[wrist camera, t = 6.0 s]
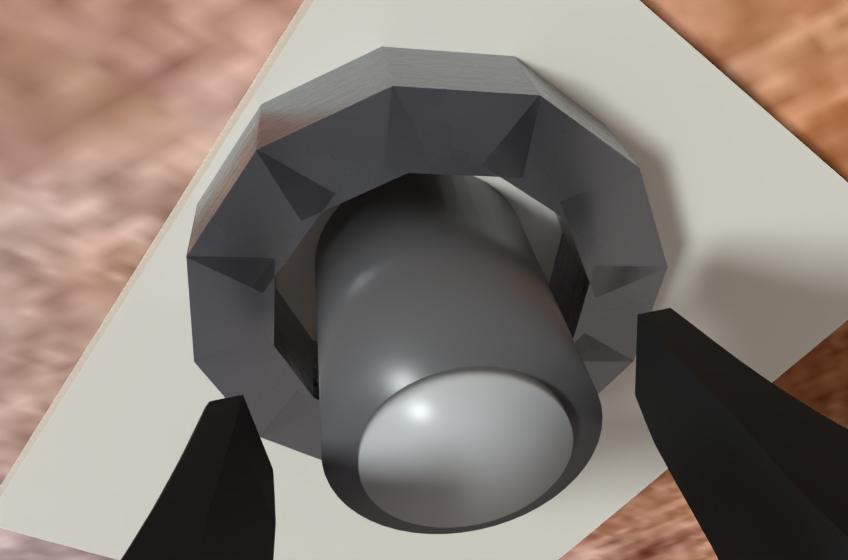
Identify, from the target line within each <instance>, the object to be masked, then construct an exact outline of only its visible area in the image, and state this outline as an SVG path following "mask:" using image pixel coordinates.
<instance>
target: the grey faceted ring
mask: <svg viewBox="0 0 848 560" xmlns="http://www.w3.org/2000/svg"><path fill="white" fill-rule="evenodd" d="M407 173H421V174H444V175H467V176H490V177H501V178H502V179H504V180H506V181H507V182H509V183H510V184H512V185H513V186H515V187H516V188H518V189H520V190H521V191H523V192H524V193H526V194H527V195H529V196H530V197H532V198H534V199H535V200H537V201H538V202H540V203H541V204H543V205H544V206H546V207H547V208H549V209H551V210H552V211H554V212H555V214H556V216H557V219H558V222H559V224H560V227H561V230H562V236H561V239H560V243H559V247H558V251H557V255H556V259H555V263H554V267H553V270H552V274H551V278H550V282H549V287H550V289H551V291H552V293H553V296H554V298H555V300H556V302H557V304H558V307H559V309H560V311H561V313H562V315H563V318H564V320H565V322H566V324H567V327H568V329H569V331H570V333H571V335H572V338H573V340H574V342H575V344H576V346H577V349H578V351H579V353H580V355H581V357H582V360H583V362H584V364H585V366H586V368H587V371H588V373H589V375H590V377H591V379H592V382H593V384H594V386H595V388H596V390H597V393H598V394H599V393H600V392H601V391H602V390H603V389H604V388H605V387H606V386H607V385H609V384H610V383H611V382H612V381H613V380H614V379H615V378H616V377H617V376H618V375H619V374H620V373H621V372H623V371H624V370H625V369H626V368H627V367H628V366H629V365H630V364H631V363H632V362H634V359H635V356H636V344H637V314H642V313H647V312H652V309H653V306H654V304H655V301H656V298H657V295H658V293H659V290H660V287H661V284H662V282H663V279H664V276H665V273H666V271H667V268H668V266H667V263H666V260H665V256H664V253H663V249H662V245H661V242H660V238H659V235H658V231H657V228H656V224H655V221H654V217H653V213H652V210H651V206H650V203H649V199H648V196H647V192H646V189H645V185H644V181H643V178H642V174H641V171H640V167H639V166H638V165H637V164H636V162H635V161H634V160H633V159H632V157H631V156H630V155H629V154H628V152H627V151H626V150H625V149H624V147H623V146H622V145H621V144H620V142H619V141H618V140H617V139H616V137H615V136H614V135H613V134H612V132H611V131H610V130H609V129H608V127H607V126H606V125H605V124H604V123H603V122H601V121H600V120H599V119H597V118H596V117H594V116H593V115H592V114H590V113H589V112H588V111H586V110H585V109H584V108H582V107H581V106H580V105H578V104H577V103H576V102H574V101H573V100H572V99H570V98H569V97H568V96H566V95H565V94H564V93H562V92H561V91H560V90H558V89H557V88H556V87H554V86H553V85H552V84H550V83H549V82H548V81H546V80H545V79H544V78H542V77H541V76H539V75H538V74H537V73H535V72H534V71H533V70H531V69H530V68H529V67H527V66H526V65H525V64H523V63H522V62H521V61H519V60H518V59H517V58H515V57H514V56H505V55H492V54H478V53H464V52H451V51H437V50H423V49H410V48H396V47H383V46H381V47H380V48H377V49H375V50H373V51H371V52H369V53H367V54H365V55H363V56H361V57H359V58H357V59H355V60H352V61H350V62H348V63H346V64H344V65H342V66H340V67H338V68H336V69H334V70H332V71H329V72H327V73H325V74H323V75H321V76H319V77H317V78H315V79H313V80H311V81H309V82H307V83H304V84H302V85H300V86H298V87H296V88H294V89H292V90H290V91H288V92H286V93H284V94H281V95H279V96H277V97H275V98H273V99H271V100H269V101H267V102H265V103H263V104H261V105H260V107H259V108H258V110H257V111H256V113H255V114H254V116H253V118H252V119H251V121H250V122H249V124H248V125H247V127H246V129H245V130H244V132H243V133H242V135H241V136H240V138H239V139H238V141H237V143H236V144H235V146H234V147H233V149H232V150H231V152H230V154H229V155H228V157H227V158H226V160H225V161H224V163H223V164H222V166H221V168H220V169H219V171H218V172H217V174H216V175H215V177H214V179H213V180H212V182H211V183H210V185H209V186H208V188H207V189H206V191H205V193H204V194H203V196H202V197H201V199H200V200H199V202H198V204H197V208H196V213H195V217H194V222H193V227H192V231H191V236H190V241H189V245H188V250H187V255H186V259H187V273H188V287H189V300H190V314H191V328H192V341H193V355H194V362H195V364H196V365H197V366H198V367H199V368H200V369H201V370H202V372H203V373H204V374H205V375H206V376H207V377H208V378H209V380H210V381H211V382H212V383H213V384H214V385H215V387H216V388H217V389H218V390H219V391H220V392H221V393H222V395H223V396H224V397H225V398H228V397H233V396H238V395H243V396H244V398H245V401H246V403H247V406H248V408H249V411H250V413H251V416H252V418H253V421H254V423H255V426H256V428H257V431H258V433H259V436H260V437H261V438H264V439H266V440H269V441H272V442H274V443H277V444H280V445H282V446H285V447H288V448H290V449H293V450H296V451H298V452H301V453H304V454H306V455H309V456H312V457H314V458H317V459H320V460H322V459H321V431H320V400H319V369H318V342H317V341H315V340H313V339H312V338H311V337H310V335H309V334H308V333H307V331H306V330H305V328H304V327H303V326H302V324H301V323H300V321H299V320H298V318H297V317H296V316H295V314H294V313H293V311H292V310H291V309H290V307H289V306H288V304H287V303H286V302H285V300H284V299H283V297H282V296H281V295H280V293H279V292H278V290H277V289H276V274H277V273H278V272H279V270H280V269H281V268H282V266H283V265H284V264H285V262H286V261H287V259H288V258H289V257H290V255H291V254H292V253H293V251H294V250H295V249H296V247H297V246H298V244H299V243H300V242H301V240H302V239H303V238H304V236H305V235H306V234H307V232H308V231H309V229H310V228H311V227H312V225H313V224H314V223H315V221H316V220H317V219H318V217H319V216H320V215H321V213H322V212H323V211H325V210H327V209H329V208H332V207H334V206H336V205H338V204H340V203H343V202H345V201H347V200H349V199H351V198H354V197H356V196H358V195H360V194H363V193H365V192H367V191H369V190H371V189H374V188H376V187H378V186H380V185H382V184H385V183H387V182H389V181H391V180H393V179H396V178H398V177H400V176H402V175H404V174H407Z"/></svg>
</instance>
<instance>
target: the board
mask: <svg viewBox="0 0 848 560" xmlns="http://www.w3.org/2000/svg"><path fill="white" fill-rule="evenodd" d="M381 46H383V47H396V48H410V49H423V50H437V51H451V52H464V53H478V54H492V55H505V56H514V57H515V58H517V59H518V60H519V61H521V62H522V63H523V64H525V65H526V66H527V67H529V68H530V69H531V70H533V71H534V72H535V73H537V74H538V75H539V76H541V77H542V78H544V79H545V80H546V81H548V82H549V83H550V84H552V85H553V86H554V87H556V88H557V89H558V90H560V91H561V92H562V93H564V94H565V95H566V96H568V97H569V98H570V99H572V100H573V101H574V102H576V103H577V104H578V105H580V106H581V107H582V108H584V109H585V110H586V111H588V112H589V113H590V114H592V115H593V116H594V117H596V118H597V119H599V120H600V121H601V122H603V123H604V124H605V125H606V126H607V127H608V129H609V130H610V131H611V132H612V134H613V135H614V136H615V137H616V139H617V140H618V141H619V142H620V144H621V145H622V146H623V147H624V149H625V150H626V151H627V152H628V154H629V155H630V156H631V157H632V159H633V160H634V161H635V162H636V164H637V165H638V166H639V167H640V171H641V174H642V178H643V181H644V185H645V189H646V192H647V196H648V199H649V203H650V206H651V210H652V213H653V217H654V221H655V224H656V228H657V231H658V235H659V238H660V242H661V245H662V249H663V253H664V256H665V260H666V263H667V266H668V268H667V271H666V273H665V276H664V279H663V282H662V284H661V287H660V290H659V293H658V295H657V298H656V301H655V304H654V306H653V309H652V311H657V310H662V309H666V308H671V309H673V310H674V311H676V312H677V313H678V314H680V315H681V316H682V317H684V318H685V319H686V320H687V321H689V322H690V323H691V324H693V325H694V326H695V327H697V328H698V329H699V330H700V331H702V332H703V333H704V334H706V335H707V336H708V337H710V338H711V339H712V340H713V341H715V342H716V343H717V344H719V345H720V346H721V347H723V348H724V349H725V350H727V351H728V352H729V353H731V354H732V355H733V356H735V357H736V358H738V359H739V360H740V361H742V362H743V363H744V364H746V365H747V366H749V367H750V368H751V369H753V370H754V371H756V372H757V373H759V374H760V375H761V376H763V377H764V378H766V379H767V380H769V381H770V382H771V383H772V382H773V381H775V380H776V379H777V378H778V377H780V376H781V375H782V374H783V373H784V372H786V371H787V370H788V369H789V368H790V367H792V366H793V365H794V364H795V363H796V362H798V361H799V360H800V359H801V358H803V357H804V356H805V355H806V354H807V353H809V352H810V351H811V350H812V349H813V348H815V347H816V346H817V345H818V344H819V343H821V342H822V341H823V340H824V339H825V338H827V337H828V336H829V335H830V334H832V333H833V332H834V331H835V330H836V329H838V328H839V327H840V326H841V325H842V324H844V323H845V322H846V321H847V320H848V182H847V181H845V180H844V179H843V178H842V177H841V176H840V175H839V174H837V173H836V172H835V171H834V170H833V169H832V168H831V167H829V166H828V165H827V164H826V163H825V162H824V161H823V160H821V159H820V158H819V157H818V156H817V155H816V154H815V153H813V152H812V151H811V150H810V149H809V148H808V147H807V146H805V145H804V144H803V143H802V142H801V141H800V140H799V139H797V138H796V137H795V136H794V135H793V134H792V133H791V132H789V131H788V130H787V129H786V128H785V127H784V126H783V125H781V124H780V123H779V122H778V121H777V120H776V119H775V118H773V117H772V116H771V115H770V114H769V113H768V112H767V111H765V110H764V109H763V108H762V107H761V106H760V105H759V104H757V103H756V102H755V101H754V100H753V99H752V98H751V97H749V96H748V95H747V94H746V93H745V92H744V91H743V90H741V89H740V88H739V87H738V86H737V85H736V84H735V83H733V82H732V81H731V80H730V79H729V78H728V77H727V76H725V75H724V74H723V73H722V72H721V71H720V70H719V69H717V68H716V67H715V66H714V65H713V64H712V63H711V62H709V61H708V60H707V59H706V58H705V57H704V56H703V55H701V54H700V53H699V52H698V51H697V50H696V49H695V48H693V47H692V46H691V45H690V44H689V43H688V42H687V41H685V40H684V39H683V38H682V37H681V36H680V35H679V34H677V33H676V32H675V31H674V30H673V29H672V28H671V27H669V26H668V25H667V24H666V23H665V22H664V21H663V20H661V19H660V18H659V17H658V16H657V15H656V14H655V13H653V12H652V11H651V10H650V9H649V8H648V7H647V6H645V5H644V4H643V3H642V2H641V1H640V0H304V1H303V2H302V4H301V6H300V7H299V9H298V10H297V12H296V14H295V15H294V17H293V18H292V20H291V22H290V23H289V25H288V26H287V28H286V30H285V31H284V33H283V34H282V36H281V38H280V39H279V41H278V42H277V44H276V46H275V47H274V49H273V50H272V52H271V54H270V55H269V57H268V58H267V60H266V62H265V63H264V65H263V66H262V68H261V70H260V71H259V73H258V74H257V76H256V78H255V79H254V81H253V82H252V84H251V86H250V87H249V89H248V90H247V92H246V94H245V95H244V97H243V98H242V100H241V102H240V103H239V105H238V106H237V108H236V110H235V111H234V113H233V114H232V116H231V118H230V119H229V121H228V122H227V124H226V126H225V127H224V129H223V130H222V132H221V134H220V135H219V137H218V138H217V140H216V142H215V143H214V145H213V146H212V148H211V150H210V151H209V153H208V154H207V156H206V158H205V159H204V161H203V162H202V164H201V166H200V167H199V169H198V170H197V172H196V174H195V175H194V177H193V178H192V180H191V182H190V183H189V185H188V186H187V188H186V190H185V191H184V193H183V194H182V196H181V198H180V199H179V201H178V202H177V204H176V206H175V207H174V209H173V210H172V212H171V214H170V215H169V217H168V218H167V220H166V222H165V223H164V225H163V226H162V228H161V230H160V231H159V233H158V234H157V236H156V238H155V239H154V241H153V242H152V244H151V246H150V247H149V249H148V250H147V252H146V254H145V255H144V257H143V258H142V260H141V262H140V263H139V265H138V266H137V268H136V270H135V271H134V273H133V274H132V276H131V278H130V279H129V281H128V282H127V284H126V286H125V287H124V289H123V290H122V292H121V294H120V295H119V297H118V298H117V300H116V302H115V303H114V305H113V306H112V308H111V310H110V311H109V313H108V314H107V316H106V318H105V319H104V321H103V322H102V324H101V326H100V327H99V329H98V330H97V332H96V334H95V335H94V337H93V338H92V340H91V342H90V343H89V345H88V346H87V348H86V349H85V351H84V353H83V354H82V356H81V357H80V359H79V361H78V362H77V364H76V365H75V367H74V369H73V370H72V372H71V373H70V375H69V377H68V378H67V380H66V381H65V383H64V385H63V386H62V388H61V389H60V391H59V393H58V394H57V396H56V397H55V399H54V401H53V402H52V404H51V405H50V407H49V409H48V410H47V412H46V413H45V415H44V417H43V418H42V420H41V421H40V423H39V425H38V426H37V428H36V429H35V431H34V433H33V434H32V436H31V437H30V439H29V441H28V442H27V444H26V445H25V447H24V449H23V450H22V452H21V453H20V455H19V457H18V458H17V460H16V461H15V463H14V465H13V466H12V468H11V469H10V471H9V473H8V474H7V476H6V477H5V479H4V481H3V482H2V484H1V485H0V528H1V529H5V530H9V531H13V532H16V533H20V534H24V535H27V536H31V537H35V538H39V539H42V540H46V541H50V542H53V543H57V544H61V545H65V546H68V547H72V548H76V549H79V550H83V551H87V552H91V553H94V554H98V555H102V556H105V557H109V558H113V559H117V560H121V558H122V557H123V555H124V554H125V552H126V551H127V549H128V548H129V546H130V545H131V543H132V541H133V540H134V538H135V536H136V535H137V533H138V532H139V530H140V528H141V527H142V525H143V523H144V522H145V520H146V519H147V517H148V515H149V514H150V512H151V510H152V509H153V507H154V505H155V503H156V502H157V500H158V498H159V496H160V494H161V493H162V491H163V489H164V487H165V485H166V483H167V482H168V480H169V478H170V476H171V474H172V472H173V471H174V469H175V467H176V465H177V463H178V461H179V459H180V457H181V455H182V453H183V451H184V449H185V447H186V445H187V443H188V441H189V439H190V437H191V435H192V433H193V431H194V429H195V427H196V425H197V423H198V421H199V419H200V417H201V415H202V412H203V410H204V408H205V407H206V405H207V404H208V403H209V401H214V400H219V399H223V398H225V397H224V396H223V395H222V393H221V392H220V391H219V390H218V389H217V388H216V387H215V385H214V384H213V383H212V382H211V381H210V380H209V378H208V377H207V376H206V375H205V374H204V373H203V372H202V370H201V369H200V368H199V367H198V366H197V365H196V364H195V362H194V355H193V341H192V328H191V314H190V300H189V287H188V273H187V259H186V255H187V250H188V245H189V241H190V236H191V231H192V227H193V222H194V217H195V213H196V208H197V204H198V202H199V200H200V199H201V197H202V196H203V194H204V193H205V191H206V189H207V188H208V186H209V185H210V183H211V182H212V180H213V179H214V177H215V175H216V174H217V172H218V171H219V169H220V168H221V166H222V164H223V163H224V161H225V160H226V158H227V157H228V155H229V154H230V152H231V150H232V149H233V147H234V146H235V144H236V143H237V141H238V139H239V138H240V136H241V135H242V133H243V132H244V130H245V129H246V127H247V125H248V124H249V122H250V121H251V119H252V118H253V116H254V114H255V113H256V111H257V110H258V108H259V107H260V105H261V104H263V103H265V102H267V101H269V100H271V99H273V98H275V97H277V96H279V95H281V94H284V93H286V92H288V91H290V90H292V89H294V88H296V87H298V86H300V85H302V84H304V83H307V82H309V81H311V80H313V79H315V78H317V77H319V76H321V75H323V74H325V73H327V72H329V71H332V70H334V69H336V68H338V67H340V66H342V65H344V64H346V63H348V62H350V61H352V60H355V59H357V58H359V57H361V56H363V55H365V54H367V53H369V52H371V51H373V50H375V49H377V48H380V47H381ZM473 177H476V178H478V179H479V180H481V181H483V182H485V183H487V184H488V185H490V186H491V187H493V188H494V189H495V190H497V191H498V192H499V193H500V194H501V195H502V196H503V197H504V198H505V199H506V200H507V201H508V203H509V204H510V205H511V207H512V208H513V209H514V211H515V213H516V215H517V217H518V219H519V221H520V223H521V225H522V227H523V230H524V232H525V234H526V236H527V238H528V241H529V243H530V245H531V247H532V249H533V252H534V254H535V256H536V258H537V260H538V263H539V265H540V267H541V269H542V271H543V274H544V276H545V278H546V280H547V282H548V285H549V282H550V278H551V274H552V270H553V267H554V263H555V259H556V255H557V251H558V247H559V243H560V239H561V236H562V230H561V227H560V224H559V222H558V219H557V216H556V214H555V212H554V211H552V210H551V209H549V208H547V207H546V206H544V205H543V204H541V203H540V202H538V201H537V200H535V199H534V198H532V197H530V196H529V195H527V194H526V193H524V192H523V191H521V190H520V189H518V188H516V187H515V186H513V185H512V184H510V183H509V182H507V181H506V180H504V179H502V178H501V177H490V176H473ZM340 204H341V203H340ZM340 204H338V205H336V206H334V207H332V208H329V209H327V210H325V211H323V212H322V213H321V215H320V216H319V217H318V219H317V220H316V221H315V223H314V224H313V225H312V227H311V228H310V229H309V231H308V232H307V234H306V235H305V236H304V238H303V239H302V240H301V242H300V243H299V244H298V246H297V247H296V249H295V250H294V251H293V253H292V254H291V255H290V257H289V258H288V259H287V261H286V262H285V264H284V265H283V266H282V268H281V269H280V270H279V272H278V273H277V274H276V289H277V290H278V292H279V293H280V295H281V296H282V297H283V299H284V300H285V302H286V303H287V304H288V306H289V307H290V309H291V310H292V311H293V313H294V314H295V316H296V317H297V318H298V320H299V321H300V323H301V324H302V326H303V327H304V328H305V330H306V331H307V333H308V334H309V335H310V337H311V338H312V339H313V340H315V341H317V342H318V338H317V307H316V276H315V256H316V248H317V245H318V241H319V238H320V235H321V233H322V231H323V229H324V226H325V225H326V223H327V221H328V220H329V218H330V217H331V215H332V214H333V213H334V211H335V210H336V209H337V208H338V207H339V206H340ZM635 376H636V356H635V359H634V362H632V363H631V364H630V365H629V366H628V367H627V368H626V369H625V370H624V371H623V372H621V373H620V374H619V375H618V376H617V377H616V378H615V379H614V380H613V381H612V382H611V383H610V384H609V385H607V386H606V387H605V388H604V389H603V390H602V391H601V392H600V393H599V394H598V396H599V399H600V402H601V407H602V417H603V419H602V430H601V434H600V438H599V441H598V444H597V446H596V449H595V451H594V453H593V455H592V457H591V458H590V460H589V462H588V463H587V465H586V466H585V468H584V469H583V470H582V471H581V473H580V474H579V475H578V476H577V478H576V479H575V480H574V481H573V482H571V483H570V484H569V485H568V486H567V487H566V488H565V489H564V490H563V491H561V492H560V493H559V494H558V495H556V496H555V497H554V498H552V499H551V500H549V501H548V502H546V503H545V504H543V505H542V506H540V507H538V508H536V509H535V510H533V511H531V512H529V513H527V514H525V515H523V516H520V517H518V518H516V519H513V520H511V521H508V522H505V523H502V524H499V525H496V526H492V527H488V528H484V529H480V530H475V531H469V532H463V533H453V534H422V533H412V532H406V531H400V530H396V529H392V528H389V527H385V526H382V525H380V524H377V523H375V522H372V521H370V520H368V519H366V518H364V517H362V516H361V515H359V514H357V513H356V512H354V511H353V510H352V509H350V508H349V507H348V506H346V505H345V504H344V503H343V502H342V501H341V500H340V499H339V498H338V497H337V495H336V494H335V492H334V491H333V490H332V488H331V487H330V485H329V483H328V481H327V479H326V476H325V474H324V470H323V466H322V460H320V459H317V458H314V457H312V456H309V455H306V454H304V453H301V452H298V451H296V450H293V449H290V448H288V447H285V446H282V445H280V444H277V443H274V442H272V441H269V440H266V439H264V438H261V437H260V438H261V440H262V443H263V445H264V448H265V450H266V453H267V455H268V458H269V460H270V463H271V465H272V468H273V475H274V492H275V515H276V528H275V543H274V557H273V560H558V559H560V558H561V557H562V556H563V555H564V554H566V553H567V552H568V551H569V550H570V549H572V548H573V547H574V546H575V545H576V544H578V543H579V542H580V541H581V540H583V539H584V538H585V537H586V536H587V535H589V534H590V533H591V532H592V531H593V530H595V529H596V528H597V527H598V526H599V525H601V524H602V523H603V522H604V521H605V520H607V519H608V518H609V517H610V516H612V515H613V514H614V513H615V512H616V511H618V510H619V509H620V508H621V507H622V506H624V505H625V504H626V503H627V502H628V501H630V500H631V499H632V498H633V497H635V496H636V495H637V494H638V493H639V492H641V491H642V490H643V489H644V488H645V487H647V486H648V485H649V484H650V483H651V482H653V481H654V480H655V479H656V478H657V477H659V476H660V475H661V474H662V473H664V472H665V471H666V470H667V469H668V467H667V466H666V464H665V462H664V460H663V458H662V457H661V455H660V453H659V451H658V449H657V447H656V446H655V444H654V441H653V439H652V436H651V434H650V432H649V429H648V427H647V424H646V422H645V420H644V417H643V414H642V412H641V409H640V407H639V404H638V402H637V399H636V397H635Z"/></svg>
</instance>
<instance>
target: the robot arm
mask: <svg viewBox="0 0 848 560" xmlns="http://www.w3.org/2000/svg"><path fill="white" fill-rule="evenodd" d="M635 397H636V399H637V402H638V404H639V407H640V409H641V412H642V414H643V417H644V420H645V422H646V424H647V427H648V429H649V432H650V434H651V436H652V439H653V441H654V444H655V446H656V447H657V449H658V451H659V453H660V455H661V457H662V458H663V460H664V462H665V464H666V466H667V467H668V469H669V471H670V473H671V475H672V476H673V478H674V480H675V482H676V484H677V485H678V487H679V489H680V491H681V492H682V494H683V496H684V498H685V500H686V501H687V503H688V505H689V507H690V508H691V510H692V512H693V514H694V516H695V517H696V519H697V521H698V523H699V524H700V526H701V528H702V530H703V532H704V533H705V535H706V537H707V539H708V540H709V542H710V544H711V546H712V548H713V549H714V551H715V553H716V555H717V557H718V559H719V560H848V429H846V428H845V427H843V426H841V425H839V424H837V423H835V422H834V421H832V420H830V419H828V418H827V417H825V416H823V415H821V414H820V413H818V412H816V411H815V410H813V409H812V408H810V407H808V406H807V405H805V404H804V403H802V402H800V401H799V400H797V399H796V398H794V397H793V396H791V395H789V394H788V393H786V392H785V391H783V390H782V389H780V388H779V387H777V386H776V385H774V384H773V383H771V382H770V381H769V380H767V379H766V378H764V377H763V376H761V375H760V374H759V373H757V372H756V371H754V370H753V369H751V368H750V367H749V366H747V365H746V364H744V363H743V362H742V361H740V360H739V359H738V358H736V357H735V356H733V355H732V354H731V353H729V352H728V351H727V350H725V349H724V348H723V347H721V346H720V345H719V344H717V343H716V342H715V341H713V340H712V339H711V338H710V337H708V336H707V335H706V334H704V333H703V332H702V331H700V330H699V329H698V328H697V327H695V326H694V325H693V324H691V323H690V322H689V321H687V320H686V319H685V318H684V317H682V316H681V315H680V314H678V313H677V312H676V311H674V310H673V309H671V308H666V309H662V310H657V311H652V312H647V313H642V314H637V344H636V376H635ZM275 528H276V515H275V492H274V475H273V468H272V465H271V463H270V460H269V458H268V455H267V453H266V450H265V448H264V445H263V443H262V440H261V438H260V436H259V433H258V431H257V428H256V426H255V423H254V421H253V418H252V416H251V413H250V411H249V408H248V406H247V403H246V401H245V398H244V396H243V395H238V396H233V397H228V398H223V399H219V400H214V401H209V403H208V404H207V405H206V407H205V408H204V410H203V412H202V415H201V417H200V419H199V421H198V423H197V425H196V427H195V429H194V431H193V433H192V435H191V437H190V439H189V441H188V443H187V445H186V447H185V449H184V451H183V453H182V455H181V457H180V459H179V461H178V463H177V465H176V467H175V469H174V471H173V472H172V474H171V476H170V478H169V480H168V482H167V483H166V485H165V487H164V489H163V491H162V493H161V494H160V496H159V498H158V500H157V502H156V503H155V505H154V507H153V509H152V510H151V512H150V514H149V515H148V517H147V519H146V520H145V522H144V523H143V525H142V527H141V528H140V530H139V532H138V533H137V535H136V536H135V538H134V540H133V541H132V543H131V545H130V546H129V548H128V549H127V551H126V552H125V554H124V555H123V557H122V558H121V560H273V557H274V543H275Z"/></svg>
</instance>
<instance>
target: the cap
mask: <svg viewBox="0 0 848 560" xmlns="http://www.w3.org/2000/svg"><path fill="white" fill-rule="evenodd" d="M315 276H316V307H317V338H318V369H319V400H320V431H321V459H322V466H323V470H324V474H325V476H326V479H327V481H328V483H329V485H330V487H331V488H332V490H333V491H334V492H335V494H336V495H337V497H338V498H339V499H340V500H341V501H342V502H343V503H344V504H345V505H346V506H348V507H349V508H350V509H352V510H353V511H354V512H356V513H357V514H359V515H361V516H362V517H364V518H366V519H368V520H370V521H372V522H375V523H377V524H380V525H382V526H385V527H389V528H392V529H396V530H400V531H406V532H412V533H422V534H453V533H463V532H469V531H475V530H480V529H484V528H488V527H492V526H496V525H499V524H502V523H505V522H508V521H511V520H513V519H516V518H518V517H520V516H523V515H525V514H527V513H529V512H531V511H533V510H535V509H536V508H538V507H540V506H542V505H543V504H545V503H546V502H548V501H549V500H551V499H552V498H554V497H555V496H556V495H558V494H559V493H560V492H561V491H563V490H564V489H565V488H566V487H567V486H568V485H569V484H570V483H571V482H573V481H574V480H575V479H576V478H577V476H578V475H579V474H580V473H581V471H582V470H583V469H584V468H585V466H586V465H587V463H588V462H589V460H590V458H591V457H592V455H593V453H594V451H595V449H596V446H597V444H598V441H599V438H600V434H601V430H602V419H603V417H602V407H601V402H600V399H599V396H598V393H597V390H596V388H595V386H594V384H593V382H592V379H591V377H590V375H589V373H588V371H587V368H586V366H585V364H584V362H583V360H582V357H581V355H580V353H579V351H578V349H577V346H576V344H575V342H574V340H573V338H572V335H571V333H570V331H569V329H568V327H567V324H566V322H565V320H564V318H563V315H562V313H561V311H560V309H559V307H558V304H557V302H556V300H555V298H554V296H553V293H552V291H551V289H550V287H549V285H548V282H547V280H546V278H545V276H544V274H543V271H542V269H541V267H540V265H539V263H538V260H537V258H536V256H535V254H534V252H533V249H532V247H531V245H530V243H529V241H528V238H527V236H526V234H525V232H524V230H523V227H522V225H521V223H520V221H519V219H518V217H517V215H516V213H515V211H514V209H513V208H512V207H511V205H510V204H509V203H508V201H507V200H506V199H505V198H504V197H503V196H502V195H501V194H500V193H499V192H498V191H497V190H495V189H494V188H493V187H491V186H490V185H488V184H487V183H485V182H483V181H481V180H479V179H478V178H476V177H473V176H467V175H444V174H421V173H407V174H404V175H402V176H400V177H398V178H396V179H393V180H391V181H389V182H387V183H385V184H382V185H380V186H378V187H376V188H374V189H371V190H369V191H367V192H365V193H363V194H360V195H358V196H356V197H354V198H351V199H349V200H347V201H345V202H343V203H341V204H340V206H339V207H338V208H337V209H336V210H335V211H334V213H333V214H332V215H331V217H330V218H329V220H328V221H327V223H326V225H325V226H324V229H323V231H322V233H321V235H320V238H319V241H318V245H317V248H316V256H315Z"/></svg>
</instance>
